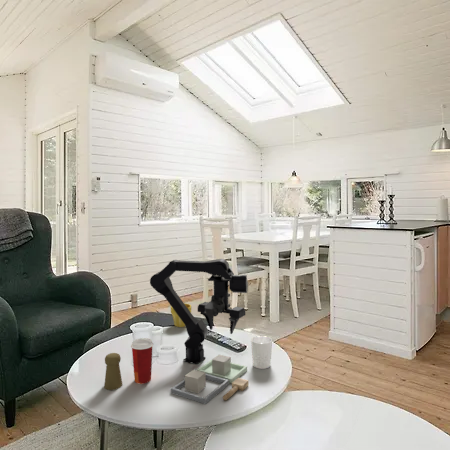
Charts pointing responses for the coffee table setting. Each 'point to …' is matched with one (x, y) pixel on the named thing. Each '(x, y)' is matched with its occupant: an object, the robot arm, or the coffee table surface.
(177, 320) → the plant pot
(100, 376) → the coffee table surface
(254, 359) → the white cup
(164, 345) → the coffee table surface
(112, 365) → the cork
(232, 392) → the wooden mallet
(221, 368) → the beige cube
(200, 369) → the bin
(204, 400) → the bin
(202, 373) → the beige cube
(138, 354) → the paper cup
